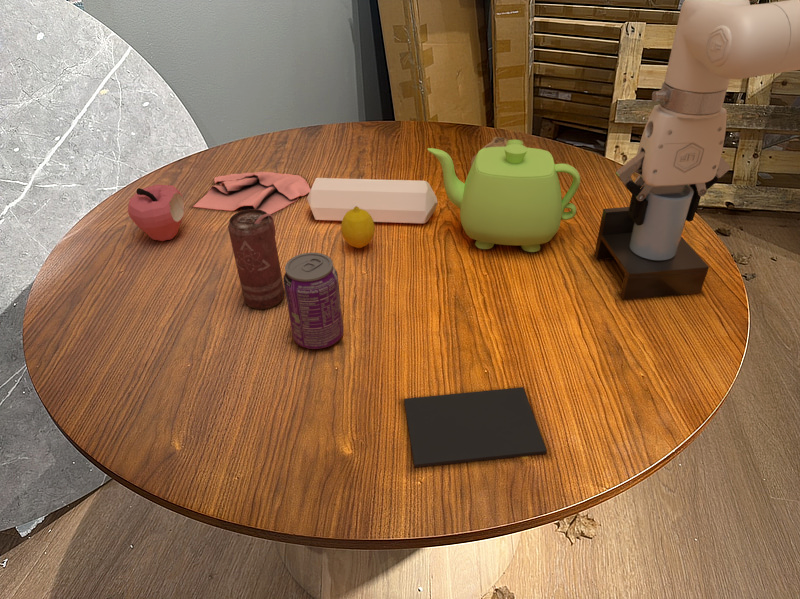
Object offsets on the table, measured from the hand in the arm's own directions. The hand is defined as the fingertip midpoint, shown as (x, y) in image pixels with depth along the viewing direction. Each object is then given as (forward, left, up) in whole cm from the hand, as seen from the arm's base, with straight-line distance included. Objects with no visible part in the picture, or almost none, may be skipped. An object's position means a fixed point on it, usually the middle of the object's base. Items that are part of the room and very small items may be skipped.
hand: (660, 217), depth 90 cm
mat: (+33, +27, -10) cm, 44 cm away
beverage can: (+51, +8, -10) cm, 53 cm away
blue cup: (0, 0, -5) cm, 5 cm away
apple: (+78, -23, -10) cm, 82 cm away
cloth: (+64, -37, -10) cm, 75 cm away
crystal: (+41, -25, -10) cm, 49 cm away
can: (+59, -2, -10) cm, 60 cm away
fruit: (+44, -14, -10) cm, 47 cm away
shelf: (0, 0, -10) cm, 10 cm away
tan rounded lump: (+15, -37, -10) cm, 41 cm away
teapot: (+19, -18, -10) cm, 28 cm away
